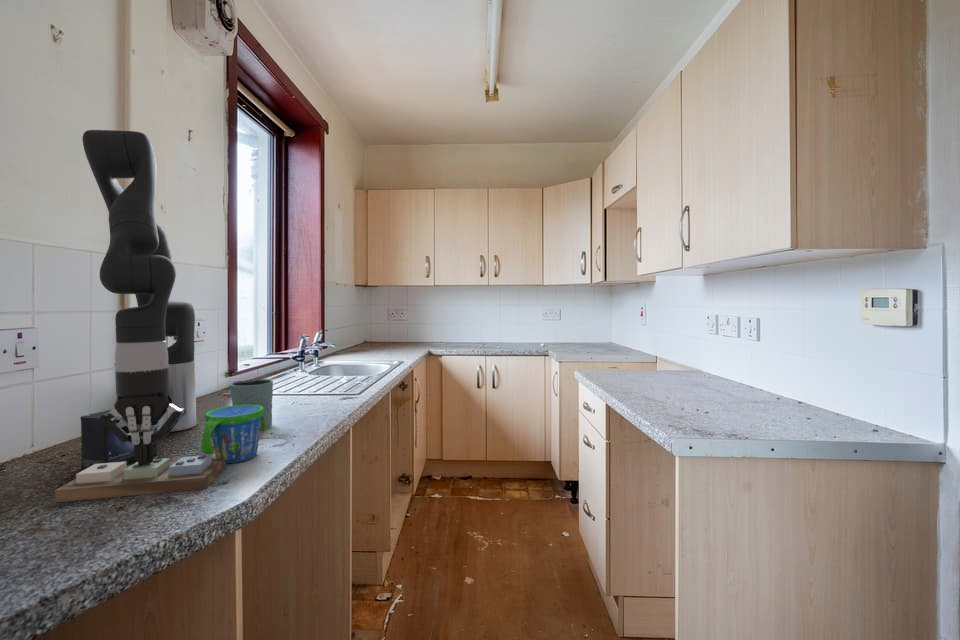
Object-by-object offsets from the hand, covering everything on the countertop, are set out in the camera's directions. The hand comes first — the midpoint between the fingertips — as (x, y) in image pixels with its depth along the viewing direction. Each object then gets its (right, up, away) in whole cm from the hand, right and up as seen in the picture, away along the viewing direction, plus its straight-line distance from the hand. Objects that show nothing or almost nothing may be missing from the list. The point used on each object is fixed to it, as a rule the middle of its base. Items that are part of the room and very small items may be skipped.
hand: (145, 463), depth 78 cm
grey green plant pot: (0, -3, +36) cm, 36 cm away
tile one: (-7, -4, -1) cm, 8 cm away
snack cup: (+9, -4, +13) cm, 16 cm away
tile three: (+7, -4, +2) cm, 8 cm away
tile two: (0, -4, 0) cm, 4 cm away
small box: (-15, -4, +13) cm, 20 cm away
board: (0, -4, 0) cm, 4 cm away
